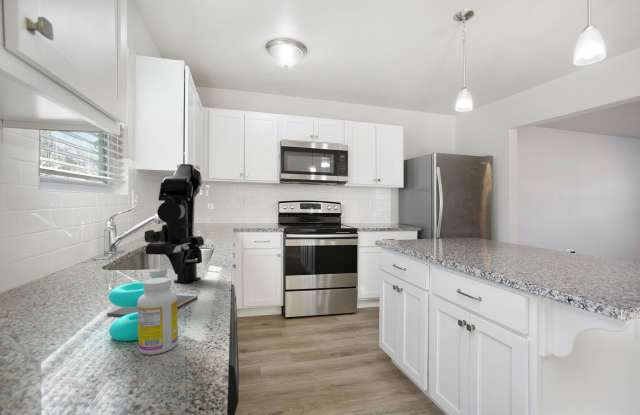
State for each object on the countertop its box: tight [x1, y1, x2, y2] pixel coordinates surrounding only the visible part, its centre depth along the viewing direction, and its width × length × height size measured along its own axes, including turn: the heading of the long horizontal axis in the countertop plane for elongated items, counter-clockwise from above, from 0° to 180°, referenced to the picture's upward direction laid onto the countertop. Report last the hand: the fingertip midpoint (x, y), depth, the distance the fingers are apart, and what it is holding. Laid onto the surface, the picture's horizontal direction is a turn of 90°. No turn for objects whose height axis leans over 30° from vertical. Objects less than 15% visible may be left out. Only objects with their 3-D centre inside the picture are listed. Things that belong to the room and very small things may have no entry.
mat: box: [106, 294, 199, 318], centre depth 81 cm, size 16×14×1 cm
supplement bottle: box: [137, 277, 179, 356], centre depth 58 cm, size 7×7×13 cm
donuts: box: [108, 280, 145, 342], centre depth 65 cm, size 10×10×10 cm
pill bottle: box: [147, 267, 169, 280], centre depth 82 cm, size 5×5×9 cm
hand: (177, 273), depth 90 cm, fingers closed
